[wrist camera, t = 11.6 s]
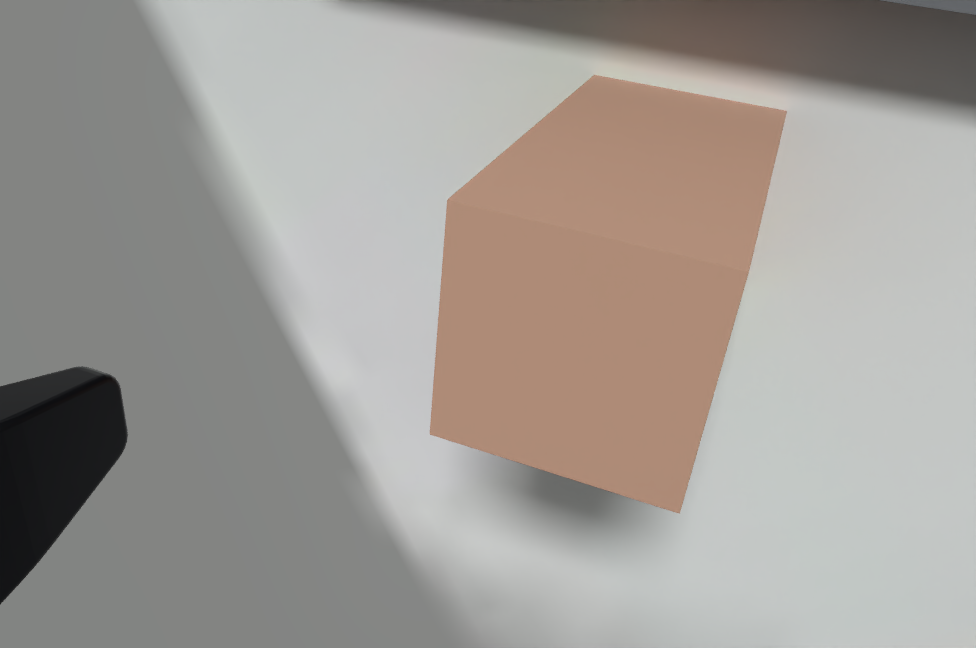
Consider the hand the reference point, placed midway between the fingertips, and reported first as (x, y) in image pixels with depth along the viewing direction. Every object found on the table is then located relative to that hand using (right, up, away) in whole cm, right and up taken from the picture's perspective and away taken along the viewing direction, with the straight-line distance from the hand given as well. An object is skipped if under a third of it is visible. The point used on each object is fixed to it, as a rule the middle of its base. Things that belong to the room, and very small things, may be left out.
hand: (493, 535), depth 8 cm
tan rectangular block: (+4, +5, +10) cm, 12 cm away
